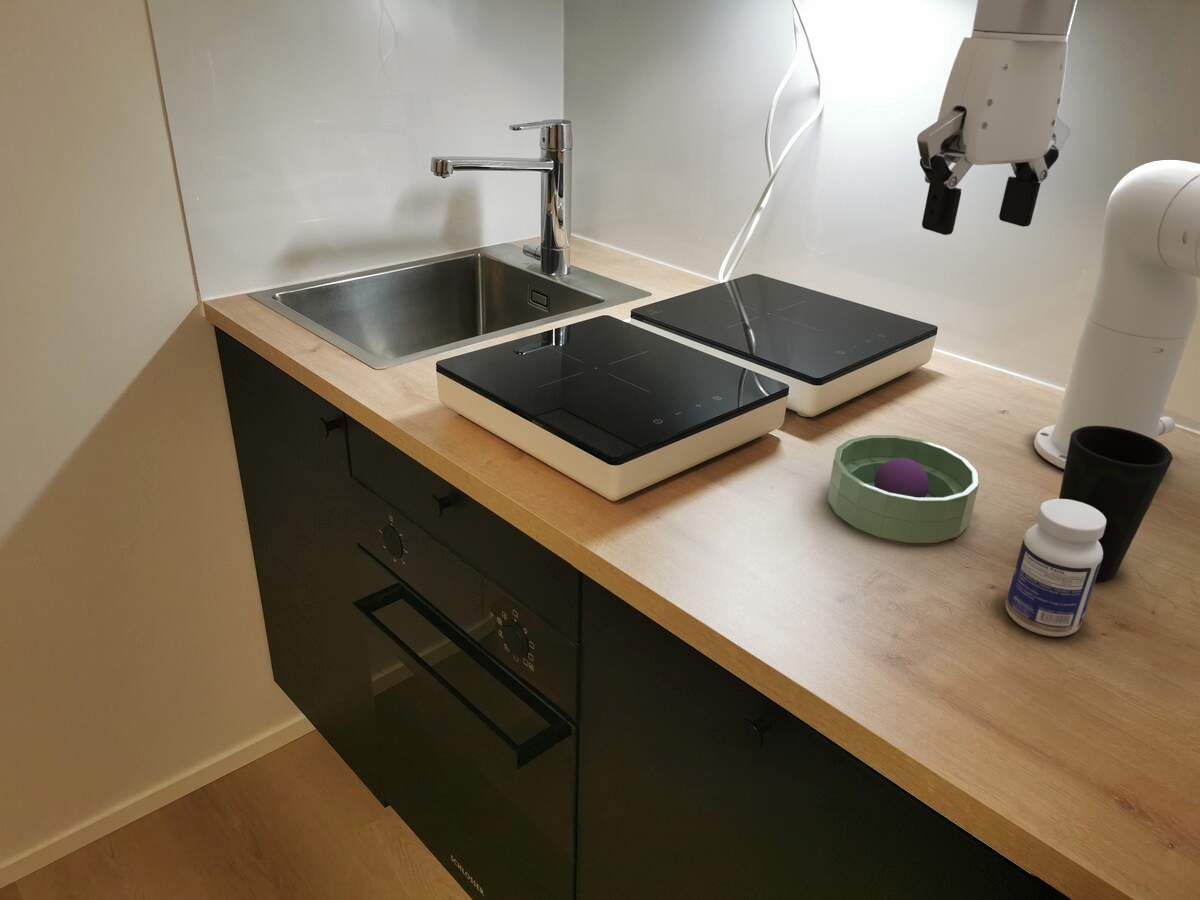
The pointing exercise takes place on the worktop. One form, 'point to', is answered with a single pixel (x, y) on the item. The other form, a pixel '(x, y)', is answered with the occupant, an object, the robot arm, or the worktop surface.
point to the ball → (902, 478)
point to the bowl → (896, 513)
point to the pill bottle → (1057, 568)
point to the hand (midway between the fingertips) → (976, 227)
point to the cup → (1114, 483)
